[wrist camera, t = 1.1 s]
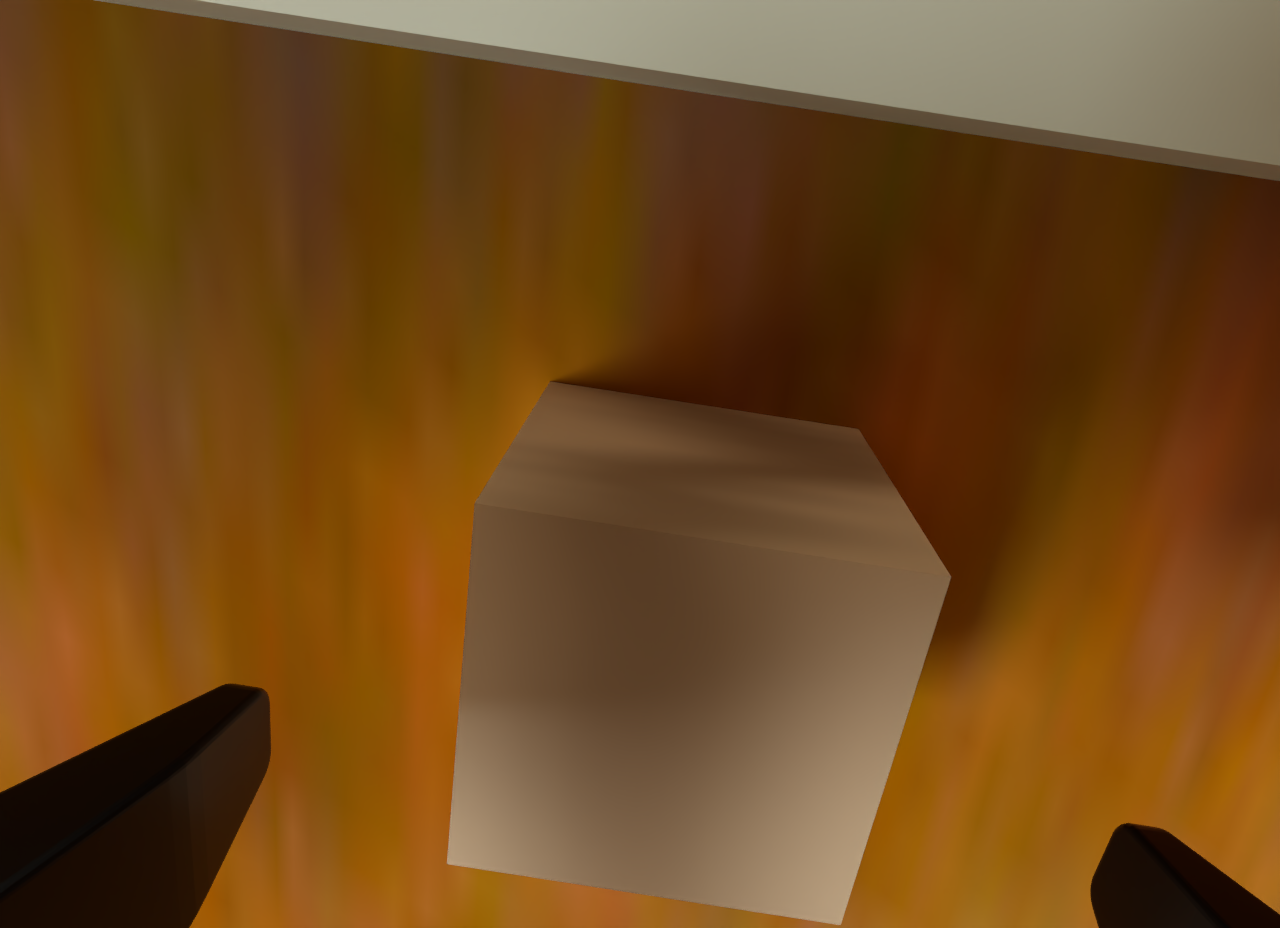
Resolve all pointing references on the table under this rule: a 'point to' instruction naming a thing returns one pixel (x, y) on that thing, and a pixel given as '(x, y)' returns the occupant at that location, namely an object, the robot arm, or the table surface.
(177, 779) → the robot arm
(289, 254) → the table surface
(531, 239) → the table surface
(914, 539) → the maple block
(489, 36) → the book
